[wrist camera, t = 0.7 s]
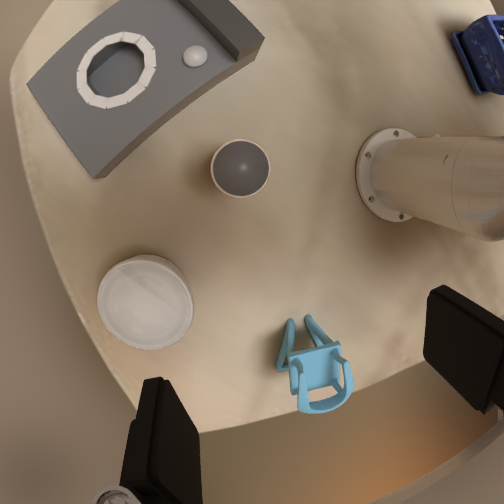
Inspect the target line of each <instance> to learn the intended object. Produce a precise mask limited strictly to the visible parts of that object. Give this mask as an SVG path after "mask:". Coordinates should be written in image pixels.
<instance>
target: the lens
mask: <svg viewBox="0 0 504 504" xmlns="http://www.w3.org/2000/svg"><path fill="white" fill-rule="evenodd" d="M210 170H211V177H212V179H213V182H214V183H215V185H216V186H217V188H218V189H219V190H220V191H222V192H223V193H225V194H226V195H229V196H231V197H236V198H245V197H249V196H252V195H254V194H256V193H258V192H259V191H260V190H261V189H262V188H263V187H264V186H265V184H266V183H267V181H268V178H269V175H270V161H269V158H268V156H267V154H266V152H265V151H264V150H263V149H262V147H260V146H259V145H258V144H256V143H255V142H253V141H250V140H246V139H236V140H232V141H229V142H227V143H225V144H223V145H222V146H221V147H220V148H219V149H218V150H217V151H216V152H215V154H214V156H213V158H212V161H211V167H210Z"/></svg>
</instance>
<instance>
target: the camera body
mask: <svg viewBox="0 0 504 504" xmlns="http://www.w3.org/2000/svg"><path fill="white" fill-rule="evenodd" d="M264 39H265V37H264V36H263V35H262V34H261V33H260V32H259V31H258V29H257V28H256V27H255V26H254V25H253V24H252V23H251V22H250V21H249V20H248V19H247V18H246V17H245V16H244V15H243V14H242V13H241V12H240V11H239V10H238V9H237V8H236V7H235V6H234V5H233V4H232V3H231V2H230V1H229V0H120V1H118V2H117V3H115V4H114V5H112V6H111V7H110V8H108V9H107V10H106V11H104V12H103V13H102V14H100V15H99V16H98V17H96V18H95V19H94V20H93V21H91V22H90V23H89V24H88V25H87V26H85V27H84V28H83V29H82V30H81V31H79V32H78V33H77V34H76V35H75V36H74V37H72V38H71V39H70V40H69V41H68V42H67V43H66V44H65V45H64V46H63V47H62V48H60V49H59V50H58V51H57V52H56V53H55V54H54V55H53V56H52V57H51V58H50V59H49V60H48V61H47V62H46V63H45V64H44V65H43V66H42V67H41V68H40V70H39V71H38V72H37V73H36V74H35V75H34V76H33V77H32V78H31V79H30V81H29V82H28V83H27V84H26V85H27V87H28V88H29V90H30V91H31V93H32V94H33V96H34V97H35V99H36V100H37V102H38V104H39V105H40V107H41V108H42V109H43V111H44V112H45V114H46V115H47V117H48V118H49V120H50V121H51V123H52V124H53V126H54V127H55V128H56V130H57V131H58V133H59V134H60V135H61V137H62V138H63V140H64V141H65V142H66V144H67V145H68V147H69V148H70V149H71V151H72V152H73V153H74V155H75V156H76V157H77V159H78V160H79V161H80V163H81V164H82V165H83V167H84V168H85V169H86V171H87V172H88V173H89V174H90V176H91V177H92V178H93V179H94V178H102V177H106V176H107V175H108V174H109V173H110V172H111V171H112V170H113V169H114V168H115V167H116V166H117V165H118V164H119V163H120V162H121V161H122V160H123V159H124V158H126V157H127V156H128V155H129V154H130V153H131V152H132V151H133V150H134V149H135V148H137V147H138V146H139V145H140V144H141V143H142V142H143V141H145V140H146V139H147V138H148V137H149V136H150V135H152V134H153V133H154V132H155V131H156V130H157V129H159V128H160V127H161V126H162V125H164V124H165V123H166V122H167V121H168V120H170V119H171V118H172V117H174V116H175V115H176V114H177V113H179V112H180V111H181V110H183V109H184V108H185V107H186V106H188V105H189V104H190V103H192V102H193V101H194V100H196V99H197V98H199V97H200V96H201V95H203V94H204V93H205V92H207V91H208V90H210V89H211V88H213V87H214V86H215V85H217V84H218V83H220V82H221V81H223V80H224V79H226V78H227V77H229V76H230V75H232V74H233V73H235V72H236V71H238V70H240V69H241V68H243V67H244V66H246V65H248V64H249V63H251V62H252V61H254V60H255V58H256V56H257V53H258V51H259V49H260V47H261V45H262V43H263V41H264Z"/></svg>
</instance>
